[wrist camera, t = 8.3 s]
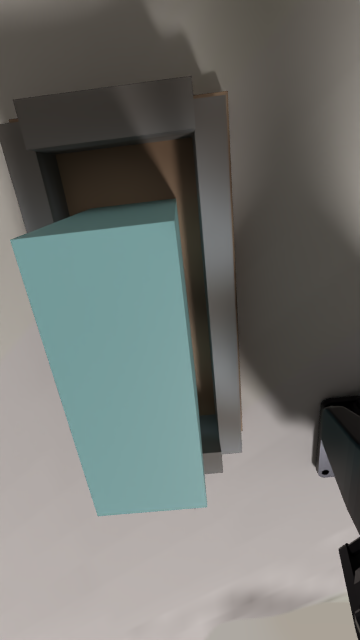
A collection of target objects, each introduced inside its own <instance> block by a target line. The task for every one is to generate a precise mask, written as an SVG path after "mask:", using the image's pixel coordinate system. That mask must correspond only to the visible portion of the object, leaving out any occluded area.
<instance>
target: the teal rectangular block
mask: <svg viewBox="0 0 360 640" xmlns="http://www.w3.org/2000/svg"><path fill="white" fill-rule="evenodd" d="M10 241H11V244H12V247H13V251H14V254H15V257H16V260H17V263H18V266H19V270H20V273H21V276H22V279H23V282H24V285H25V288H26V292H27V295H28V298H29V301H30V304H31V307H32V310H33V314H34V317H35V320H36V323H37V326H38V329H39V332H40V336H41V339H42V342H43V345H44V348H45V351H46V355H47V358H48V361H49V364H50V367H51V370H52V373H53V377H54V380H55V383H56V386H57V389H58V392H59V395H60V399H61V402H62V405H63V408H64V411H65V414H66V417H67V421H68V424H69V427H70V430H71V433H72V436H73V440H74V443H75V446H76V449H77V452H78V455H79V458H80V462H81V465H82V468H83V471H84V474H85V477H86V480H87V484H88V487H89V490H90V493H91V496H92V499H93V502H94V506H95V509H96V512H97V515H98V516H106V515H118V514H130V513H142V512H154V511H167V510H179V509H191V508H203V507H207V499H206V487H205V476H204V465H203V453H202V442H201V431H200V420H199V408H198V397H197V386H196V375H195V366H194V357H193V348H192V339H191V330H190V321H189V312H188V303H187V293H186V284H185V275H184V266H183V257H182V248H181V239H180V230H179V221H178V211H177V202H176V198H175V199H166V200H158V201H150V202H141V203H133V204H124V205H116V206H108V207H99V208H91V209H88V210H86V211H83V212H80V213H78V214H75V215H73V216H70V217H68V218H65V219H63V220H60V221H57V222H55V223H52V224H50V225H47V226H45V227H42V228H40V229H37V230H34V231H32V232H29V233H27V234H24V235H22V236H19V237H16V238H14V239H11V240H10Z"/></svg>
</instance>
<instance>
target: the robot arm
mask: <svg viewBox="0 0 360 640" xmlns="http://www.w3.org/2000/svg"><path fill="white" fill-rule="evenodd" d="M329 406H332V407H329ZM316 471H317V473H318V475H319V476H320V477H335V479H336V481H337V484H338V487H339V489H340V492H341V495H342V497H343V500H344V502H345V505H346V507H347V510H348V512H349V514H350V516H351V518H352V520H353V522H354V524H355V526H356V528H357V530H358V532H359V534H360V396H349V397H339V398H329V399H326V400H324V401H323V402H322V403H321V409H320V422H319V435H318V448H317V460H316ZM339 554H340V559H341V563H342V568H343V573H344V578H345V582H346V587H347V592H348V597H349V601H350V606H351V611H352V615H353V620H354V625H355V629H356V633H357V637H358V640H360V537H359V538H357V539H356V540H354V541H353V542H351V543H350V544H347V543H346V544H345V545H343V546H342V547H340V548H339Z"/></svg>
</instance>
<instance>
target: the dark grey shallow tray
mask: <svg viewBox="0 0 360 640" xmlns="http://www.w3.org/2000/svg"><path fill="white" fill-rule="evenodd" d="M13 102H14V105H15V109H16V113H17V117H18V118H17V119H9V123H5V124H0V142H1V146H2V149H3V153H4V156H5V160H6V163H7V166H8V170H9V173H10V177H11V180H12V183H13V187H14V190H15V194H16V197H17V200H18V204H19V207H20V211H21V214H22V217H23V221H24V224H25V228H26V231H27V233H29V232H32V231H34V230H37V229H40V228H42V227H45V226H47V225H50V224H52V223H55V222H57V221H60V220H63V219H65V218H68V217H70V216H73V215H75V214H78V213H80V212H83V211H86V210H88V209H91V208H99V207H108V206H116V205H124V204H133V203H141V202H150V201H158V200H166V199H175V198H176V202H177V211H178V221H179V230H180V239H181V248H182V257H183V266H184V275H185V284H186V293H187V303H188V312H189V321H190V330H191V339H192V348H193V357H194V366H195V375H196V386H197V397H198V408H199V420H200V431H201V442H202V453H203V465H204V474H211V473H223V465H222V454H230V453H242V440H241V431H242V409H241V386H240V363H239V341H238V318H237V295H236V272H235V249H234V226H233V203H232V181H231V158H230V135H229V112H228V91H223V92H215V93H208V94H200V95H193V90H192V77H191V76H188V77H180V78H173V79H165V80H158V81H150V82H143V83H135V84H128V85H120V86H113V87H105V88H98V89H90V90H83V91H75V92H68V93H60V94H53V95H45V96H38V97H30V98H23V99H15V100H13Z"/></svg>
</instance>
